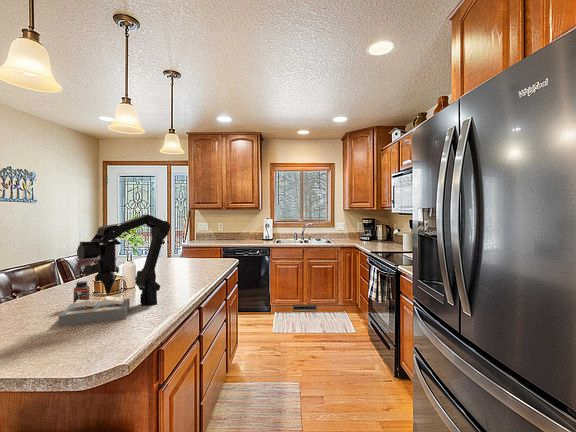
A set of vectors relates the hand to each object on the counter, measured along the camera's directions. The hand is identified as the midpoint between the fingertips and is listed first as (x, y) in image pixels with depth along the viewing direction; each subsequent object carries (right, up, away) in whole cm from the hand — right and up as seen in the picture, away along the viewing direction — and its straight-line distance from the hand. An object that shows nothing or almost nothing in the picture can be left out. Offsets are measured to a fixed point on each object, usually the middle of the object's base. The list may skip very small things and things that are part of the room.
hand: (108, 293), depth 127 cm
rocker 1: (-7, -3, -3) cm, 8 cm away
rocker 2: (+2, -3, +1) cm, 4 cm away
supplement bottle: (-18, -9, +11) cm, 23 cm away
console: (-4, -9, -1) cm, 9 cm away
